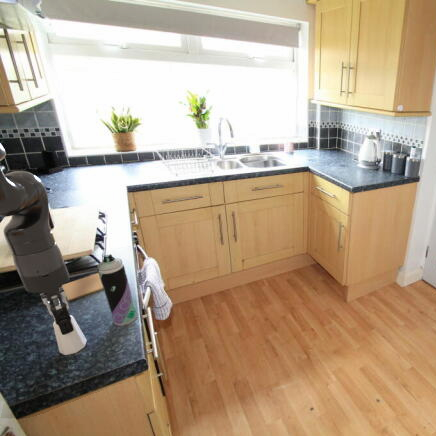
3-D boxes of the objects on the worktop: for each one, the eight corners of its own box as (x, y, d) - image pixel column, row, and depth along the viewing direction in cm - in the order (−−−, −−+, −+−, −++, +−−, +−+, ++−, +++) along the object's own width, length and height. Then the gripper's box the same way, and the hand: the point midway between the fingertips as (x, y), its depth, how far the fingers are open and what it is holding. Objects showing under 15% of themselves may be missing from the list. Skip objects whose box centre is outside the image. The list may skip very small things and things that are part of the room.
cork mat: (61, 304, 91) (60, 302, 91) (54, 289, 97) (54, 287, 97) (109, 286, 99) (108, 285, 99) (100, 273, 105) (100, 272, 105)
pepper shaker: (53, 355, 75) (37, 319, 70) (70, 338, 80) (56, 303, 75) (77, 355, 75) (62, 319, 71) (92, 338, 80) (79, 303, 76)
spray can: (121, 328, 83) (101, 263, 75) (109, 321, 86) (89, 257, 78) (141, 316, 88) (125, 253, 80) (129, 309, 90) (112, 248, 82)
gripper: (14, 259, 70) (40, 320, 77) (22, 287, 61) (51, 353, 68) (57, 247, 75) (78, 305, 82) (70, 272, 66) (92, 335, 73)
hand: (66, 327), depth 75 cm, fingers closed on pepper shaker, 4 cm apart
